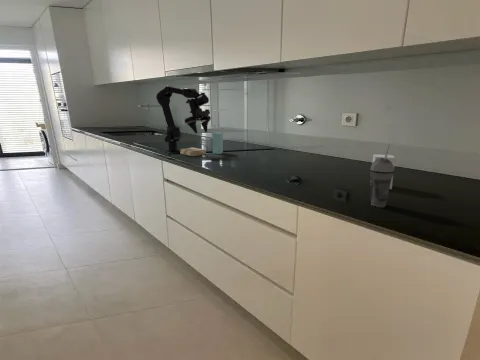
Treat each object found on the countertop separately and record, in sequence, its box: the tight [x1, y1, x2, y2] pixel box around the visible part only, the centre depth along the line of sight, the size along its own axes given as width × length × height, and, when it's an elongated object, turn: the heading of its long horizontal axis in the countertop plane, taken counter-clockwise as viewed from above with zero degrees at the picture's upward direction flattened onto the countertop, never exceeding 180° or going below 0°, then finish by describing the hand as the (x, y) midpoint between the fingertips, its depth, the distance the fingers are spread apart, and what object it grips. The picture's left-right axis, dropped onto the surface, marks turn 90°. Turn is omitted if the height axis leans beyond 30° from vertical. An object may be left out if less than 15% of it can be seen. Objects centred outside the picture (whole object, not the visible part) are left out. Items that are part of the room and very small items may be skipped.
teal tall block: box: [212, 132, 224, 155], centre depth 214 cm, size 5×5×13 cm
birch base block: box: [179, 147, 207, 157], centre depth 212 cm, size 14×10×3 cm
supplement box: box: [372, 153, 396, 190], centre depth 130 cm, size 7×7×13 cm
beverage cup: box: [369, 144, 395, 208], centre depth 106 cm, size 7×7×20 cm
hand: (201, 132), depth 208 cm, fingers open, 9 cm apart
